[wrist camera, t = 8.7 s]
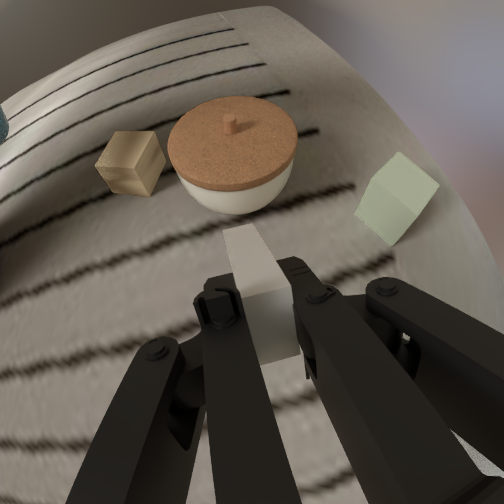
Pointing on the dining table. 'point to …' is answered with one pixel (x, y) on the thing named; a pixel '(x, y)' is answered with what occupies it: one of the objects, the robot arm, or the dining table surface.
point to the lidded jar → (234, 153)
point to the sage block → (395, 198)
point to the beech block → (132, 162)
